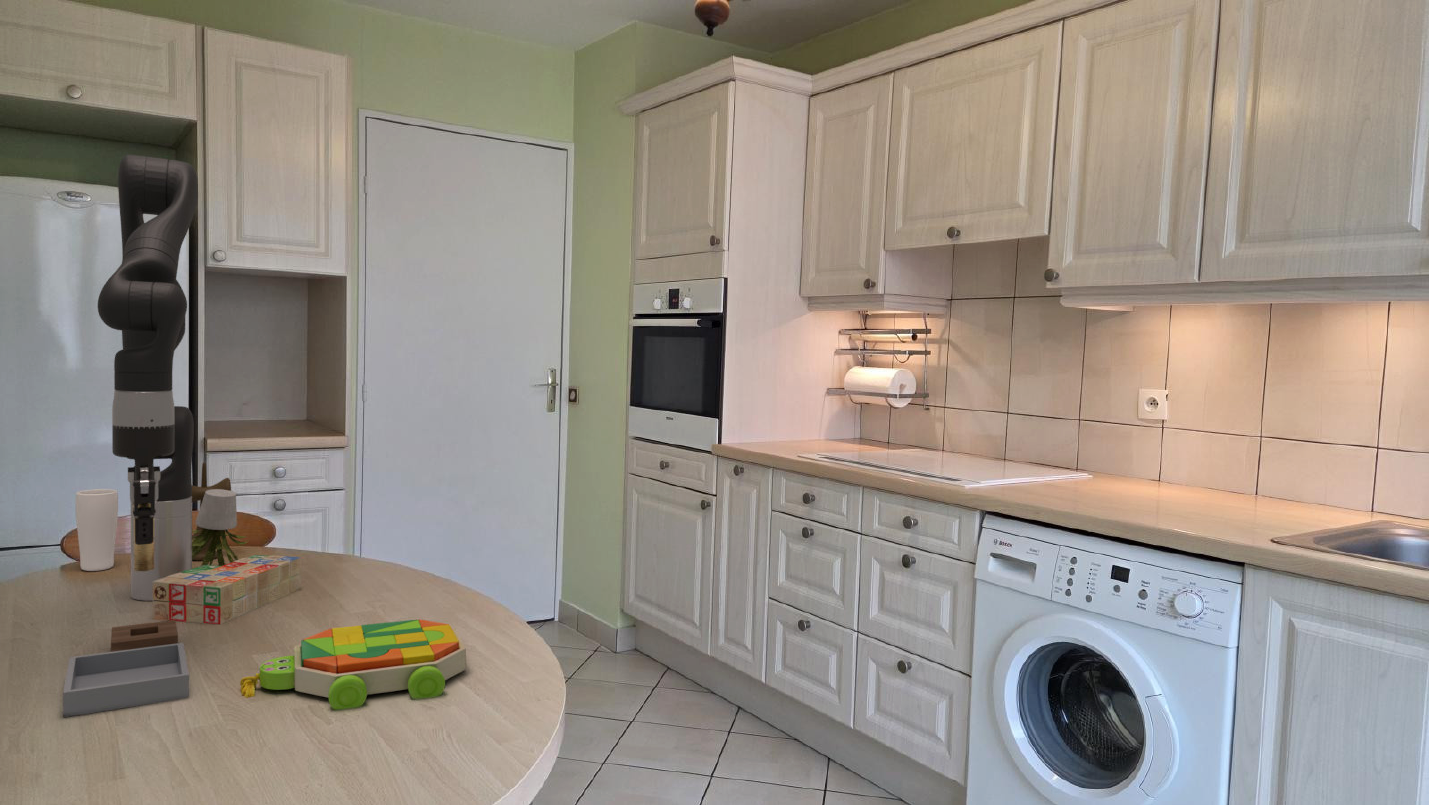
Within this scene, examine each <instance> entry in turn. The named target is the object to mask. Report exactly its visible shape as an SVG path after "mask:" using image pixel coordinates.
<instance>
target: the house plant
mask: <svg viewBox="0 0 1429 805" xmlns="http://www.w3.org/2000/svg"><path fill="white" fill-rule="evenodd" d="M237 512H238V511H237V493H236V492H235V491H232V490H231V491H229V490H223V489H212V490H207V491H206V492H205V495H204V498H203V501H202V504H201V507H200V506H199V511H198V513H197V516H196V519H195V525H196V527H197V526H199V527H201V528H203V529H202V531H201V530H199V531H201V533H200V535H199V536H196V537H193V538H192V559H193V558H194V557H195V556H196V555H197V554H198V553H199V552H200V551H201V550H202V548H203V547H204V546H205V545H206V544H207V542H208V541H209V540H210V538H211V537H212V536H213V537H212V540H211V543H210V545H209V548H208V550H207V553H206V555H205V557H204V560H203V561H202V563H201V564H200V566H204V565H213V562H214V560H215V558H214V556H215V551H216V552H217V556H218V557H217V565H218V566H223V565H226V561H225V558H224V555H223V550H224V551H225V552H226V557H227V560H228V562H229V563H232V562H234V561H237V560H240V558H239V557H238V555H236V554H235V553H234V551H233V550H232V549H231V547H230V546H229V544H228V539H227V537H228V538H229V539H230V540H231V541H232V542H234V543H236V544H237V545H241V546H242V545H245V544H247V543H248V542H249V540H247V541H239V540H237V539H244V538H246V537H247V535H245V536H244V535H238V534H233V533H231V532H230V531H228V530H231V529H234V528H236V527H237V526H238V519H237V518H238V514H237ZM199 531H196V529H195V530H194V529H192V534H195V533H196V532H199ZM193 540H194V541H193Z"/></svg>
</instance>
